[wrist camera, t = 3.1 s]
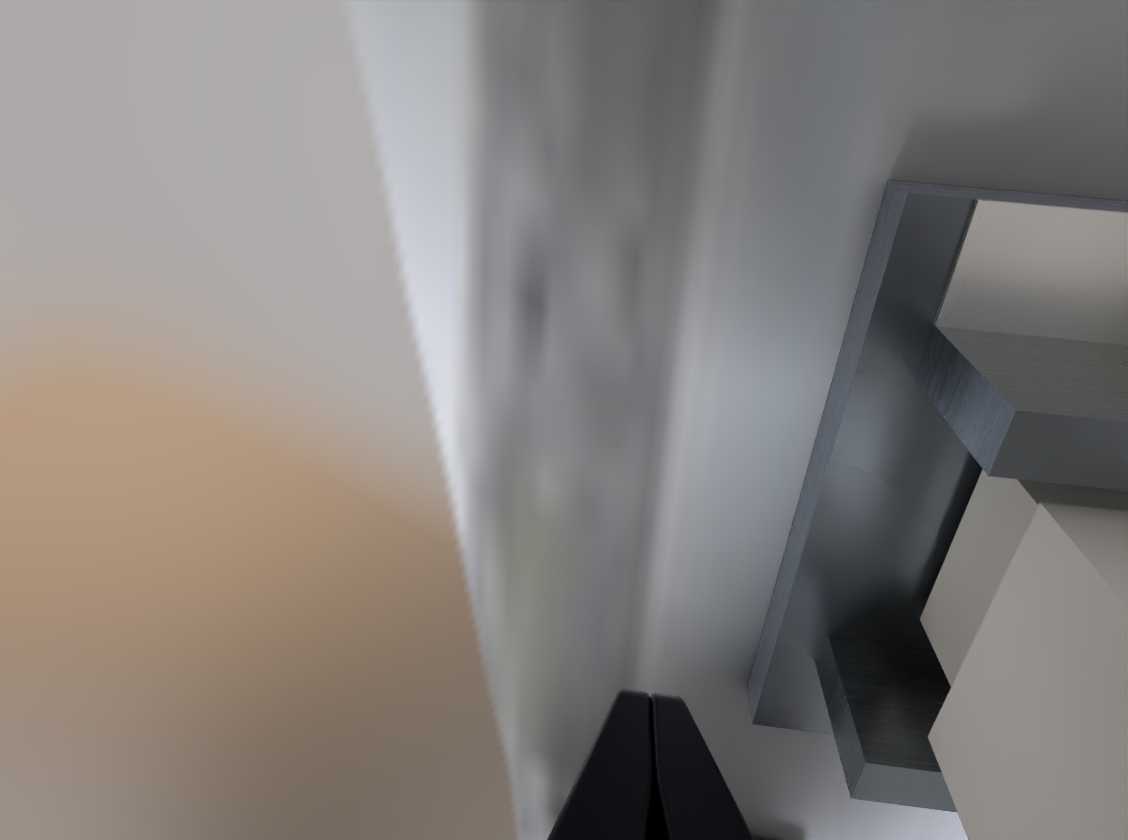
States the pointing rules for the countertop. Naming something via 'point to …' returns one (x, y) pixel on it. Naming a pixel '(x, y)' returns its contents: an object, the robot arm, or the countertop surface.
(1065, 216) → the bench
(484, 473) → the countertop surface
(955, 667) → the off-white rectangular block
